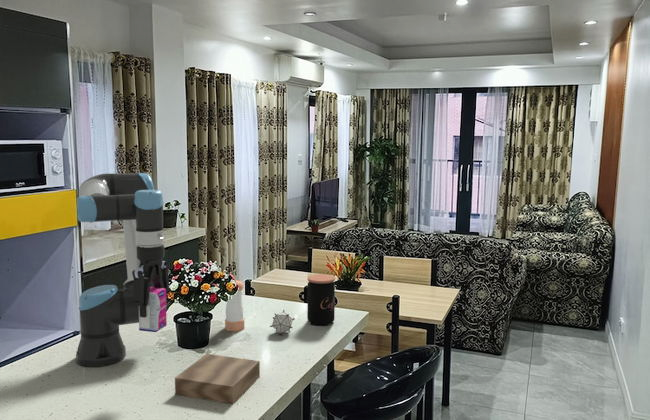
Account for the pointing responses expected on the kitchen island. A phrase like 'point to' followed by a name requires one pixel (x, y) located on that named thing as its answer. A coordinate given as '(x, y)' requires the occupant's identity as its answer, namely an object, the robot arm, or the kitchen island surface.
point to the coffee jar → (321, 299)
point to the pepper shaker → (235, 311)
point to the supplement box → (156, 310)
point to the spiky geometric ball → (282, 322)
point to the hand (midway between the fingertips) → (153, 323)
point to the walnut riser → (217, 378)
